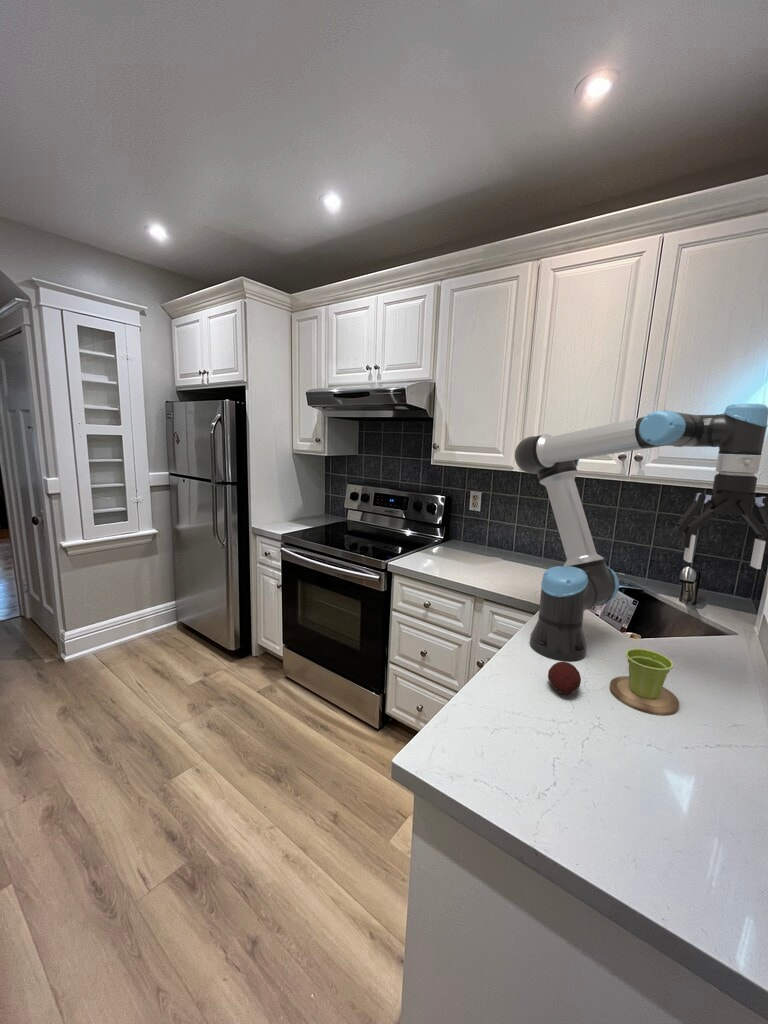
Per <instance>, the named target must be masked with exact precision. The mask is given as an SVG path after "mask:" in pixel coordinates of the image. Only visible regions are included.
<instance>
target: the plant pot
mask: <svg viewBox="0 0 768 1024" xmlns="http://www.w3.org/2000/svg"><path fill="white" fill-rule="evenodd" d="M625 656H626V658H627V663H628V676H629V688H630V690H631V691H633V692H634V693H635V694H636V695H638V696H640V697H643V698H646V699H652V698H658V697H659V696H660V693H661V690H662V687H664V683H665V681H666V678H667V675H668V674H669V672H670V671H671V669H673V667H674V663H673V661H672V660H671V659H670V658H669V657H667V656H665V655H663V654H661V653H659V652H657V651H656V652H655V651H653V650H650V649H645V648H644V649H643V648H630V649H628V650H626V651H625Z"/></svg>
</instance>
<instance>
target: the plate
mask: <svg viewBox="0 0 768 1024" xmlns="http://www.w3.org/2000/svg"><path fill="white" fill-rule="evenodd" d="M609 691H610V693H611V694H612V696H613V697H614V698H615V699H617V701H619V702H621V703H622V704H623V705H625V706H628V708H629V707H630V708H632V709H633V710H636V711H638V712H643V713H644V714H649V715H655V716H671V715H674V714H676V713H677V712H678V711H679V707H680V700H679V699H678V698H677V697H676V695H675V694H674V693H673V692H672V691H670V690H669V689H668V688H666V687H664V686H663V687H662V690H661V693H660V696H659V697H658V698H652V699H646V698H643V697H640V696H638V695H636V694H635V693H634V692H633V691H631V690H630V688H629V675H628V676H625V675H624V676H622V675H621V676H616V677H614V678H612V679H611V680H610V683H609Z"/></svg>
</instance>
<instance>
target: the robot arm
mask: <svg viewBox="0 0 768 1024" xmlns="http://www.w3.org/2000/svg"><path fill="white" fill-rule="evenodd" d="M767 428H768V406H767V405H766V404H763V403H737V404H730V405H727V406H726V407H725V410H724V411H723V413H720V414H718V413H717V414H691V413H690V414H689V413H682V412H677V411H673V410H667V409H666V410H665V409H664V410H656V411H653V412H651V413H648V414H647V415H646V416H642V417H637V418H632V419H627V420H624V421H622V420H621V421H619V422H612V423H608V424H605V425H599V426H595V427H590V428H586V429H585V428H584V429H581V430H576V431H570V432H566V433H562V434H558V435H553V436H552V435H550V434H541V435H540V434H539V435H536V436H535V435H533V436H532V435H531V436H528V437H526V438H524V439H521V441H520V442H519V443H518V444H517V446H516V448H515V449H514V461H515V464H516V465H517V466H518V468H519V469H520V470H521V471H523V472H525V473H527V474H533V475H534V474H535V475H537V478H538V482H539V484H540V485H543V486H545V488H546V491H547V495H548V498H549V501H550V505H551V509H552V512H553V516H554V519H555V523H556V526H557V529H558V533H559V536H560V540H561V544H562V547H563V550H564V554H565V558H566V561H565V562H564V563H563V566H562V565H557V566H552V567H549V568H548V569H546V570H544V573H543V575H542V580H541V584H540V587H541V589H540V590H541V591H540V599H539V600H540V601H539V610H538V619H537V622H536V624H535V625H534V627H533V630H532V631H531V633H530V638H529V645H530V648H532V649H533V651H535V652H537V653H538V654H539V655H542V656H544V657H547V658H548V659H549V658H550V659H553V660H558V661H562V662H575V661H576V662H577V661H580V660H583V659H584V658H585V657H586V655H587V642H586V638H585V634H584V629H583V622H584V621H583V620H584V615H585V614H584V612H585V611H587V610H590V609H592V608H595V607H601V606H604V605H606V604H608V603H609V602H611V601H613V600H614V598H615V597H616V596H617V595H618V592H619V588H620V581H619V578H618V576H617V574H616V572H615V571H614V570H613V569H611V568H610V567H609V566H607V564H606V561H605V558H604V557H603V556H602V555H600V554H598V553H597V551H596V547H595V544H594V540H593V536H592V534H591V530H590V528H589V527H590V526H589V524H588V520H587V517H586V514H585V510H584V507H583V503H582V500H581V496H580V494H579V490H578V487H577V484H576V481H575V479H576V477H577V475H578V469H577V467H578V465H579V461H580V460H583V459H587V458H595V457H600V456H607V455H608V456H609V455H613V454H619V453H626V452H632V451H638V450H645V449H652V448H659V447H666V446H668V447H676V448H677V447H678V448H683V447H690V448H692V447H693V448H697V447H699V448H701V447H702V448H703V447H704V448H705V447H706V448H707V447H708V448H709V447H710V448H718V453H717V454H718V456H717V460H716V465H715V471H716V472H717V473H716V474H715V475H714V478H713V486H712V492H711V493H710V494H705V493H701V492H697V493H695V496H694V499H693V502H691V504H690V506H689V507H688V508H687V509H686V511H685V512H684V514H683V515H682V516H681V517H680V519H679V520H678V521H677V523H676V524H675V525H674V530H676V531H678V532H681V533H682V537H681V547H683V548H684V553H683V560H684V561H685V562H687V563H688V564H689V563H693V555H694V550H695V543H696V537H697V535H695V534H694V533H695V532H697V531H698V530H699V529H700V528H702V527H703V526H704V525H705V524H706V523H708V522H709V521H710V520H712V518H714V517H715V516H718V515H719V514H721V515H724V516H725V515H726V516H727V515H729V516H730V515H734V516H741V517H743V518H744V520H745V521H746V522H747V523H748V524H749V526H750V527H751V528H752V530H753V531H754V532H755V533H756V535H757V536H758V537H759V538H754V542H753V546H752V547H753V549H752V555H751V560H750V565H749V566H750V567H751V568H754V569H756V570H761V568H762V563H763V559H764V555H766V556H767V555H768V496H763V495H761V496H759V497H755V492H756V489H757V482H758V477H757V476H756V474H759V471H760V465H761V459H762V454H763V452H762V451H763V448H764V442H765V438H766V433H767ZM708 502H710V503H711V505H710V506H708V507H707V508H706V510H704V512H702V513H701V514H700V515H699V516H698V517H696V515H697V514H698V513H699V511H700V510H701V509H702V507H703V506H704V504H707V503H708ZM754 504H755V505H756V506H757V507H758V510H759V513H760V516H761V518H762V521H763V523H764V525H765V527H764V526H763V524H762V523H761V522H760V520H758V518H757V516H755V513H754V512H753V510H752V509H751V507H752V506H753V505H754ZM695 517H696V518H695ZM694 518H695V519H694ZM693 519H694V520H693ZM766 529H767V530H766Z"/></svg>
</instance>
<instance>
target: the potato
mask: <svg viewBox="0 0 768 1024" xmlns="http://www.w3.org/2000/svg"><path fill="white" fill-rule="evenodd" d="M547 678H548V681H549V683H550V684H551V687H553V689H555V690H556V691H557V692H559V693H560V694H563V695H571V694H573V693H574V692H576V691H577V690H579V687H580V686H581V683H582V681H581V680H582V678H581V673H580V671H579V670H578V669H577V667H576V666H575V665H574V664H572V663H571V662H569V661H558V662H556V663H553V665H552V666H551V667H550V668H549V669H548V673H547Z"/></svg>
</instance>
